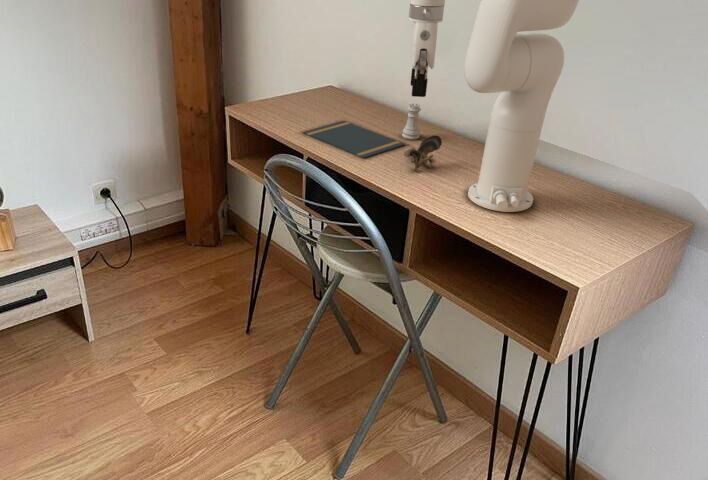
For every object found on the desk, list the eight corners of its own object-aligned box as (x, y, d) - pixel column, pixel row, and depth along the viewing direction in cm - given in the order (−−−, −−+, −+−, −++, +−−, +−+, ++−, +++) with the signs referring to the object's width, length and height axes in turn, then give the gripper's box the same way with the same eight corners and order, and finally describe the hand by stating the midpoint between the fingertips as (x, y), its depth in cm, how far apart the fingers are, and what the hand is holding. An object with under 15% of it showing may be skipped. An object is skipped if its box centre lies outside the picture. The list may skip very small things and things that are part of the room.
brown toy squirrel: (441, 170, 137) (449, 149, 143) (425, 143, 134) (434, 123, 140) (410, 182, 141) (419, 161, 147) (394, 156, 138) (404, 136, 144)
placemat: (404, 145, 153) (404, 143, 152) (364, 158, 145) (364, 157, 145) (343, 121, 166) (343, 120, 166) (303, 133, 158) (303, 131, 158)
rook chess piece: (420, 140, 155) (425, 108, 151) (402, 140, 155) (406, 107, 151) (418, 134, 159) (422, 102, 155) (400, 133, 159) (404, 102, 155)
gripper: (446, 20, 134) (436, 101, 143) (440, 8, 149) (431, 82, 158) (410, 19, 135) (402, 99, 144) (408, 7, 149) (401, 81, 158)
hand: (417, 90), depth 151 cm, fingers open, 9 cm apart
